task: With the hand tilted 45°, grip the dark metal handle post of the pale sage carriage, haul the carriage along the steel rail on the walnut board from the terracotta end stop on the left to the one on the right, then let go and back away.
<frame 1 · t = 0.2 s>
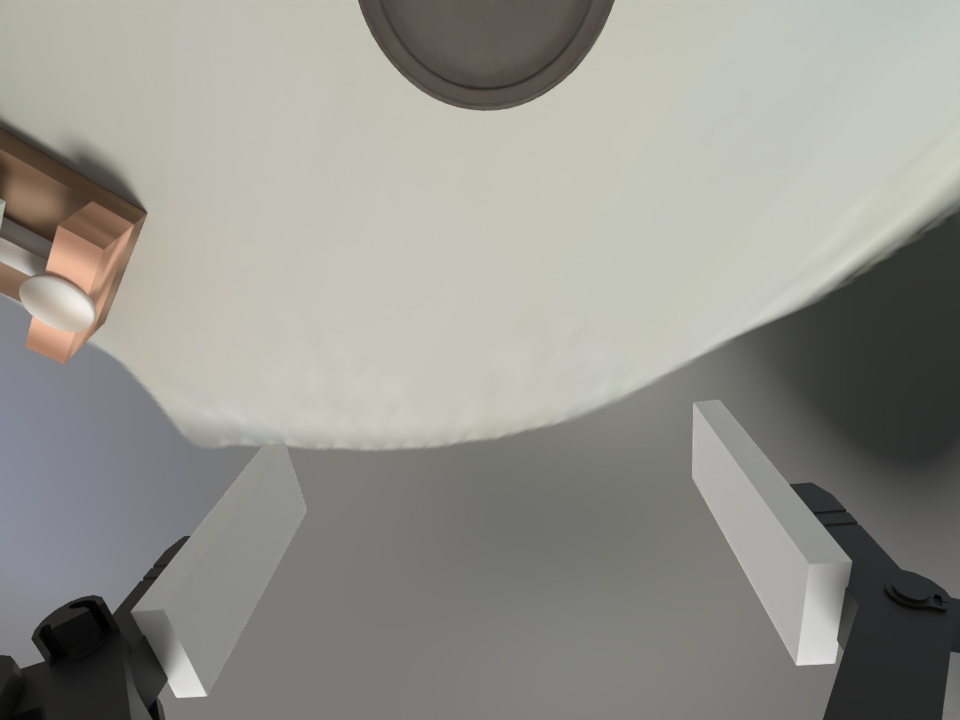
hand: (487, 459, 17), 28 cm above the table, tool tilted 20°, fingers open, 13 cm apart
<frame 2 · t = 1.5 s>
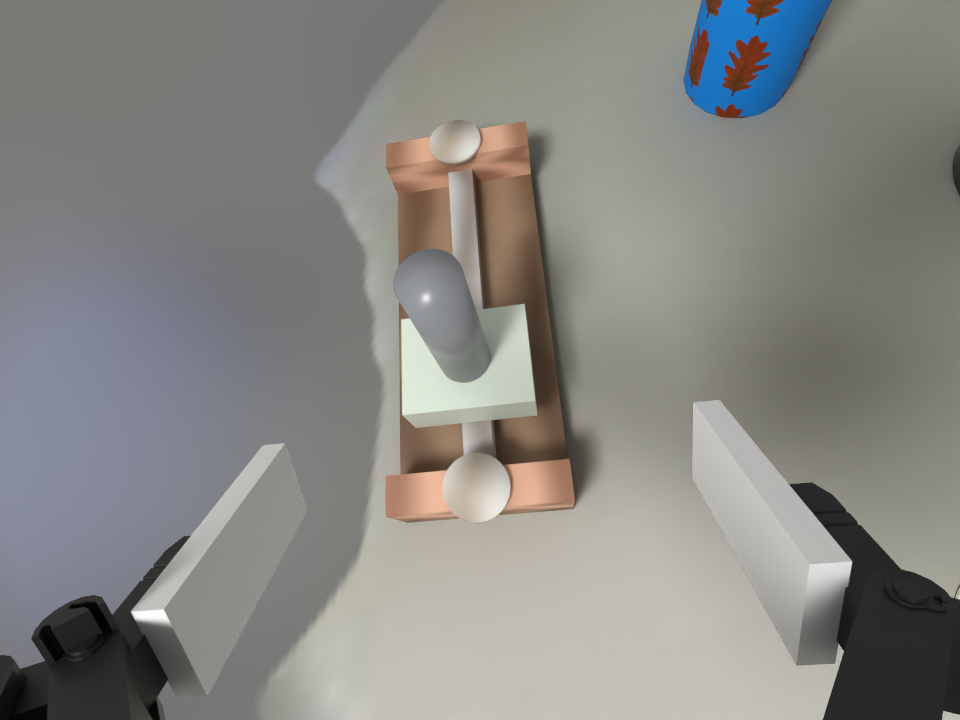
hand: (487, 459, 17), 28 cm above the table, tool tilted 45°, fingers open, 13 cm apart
carriage: (455, 337, 36), point 12 cm above the table, slide at 7.0 cm
thermos: (734, 82, 57), on the table
rail board: (475, 322, 50), on the table
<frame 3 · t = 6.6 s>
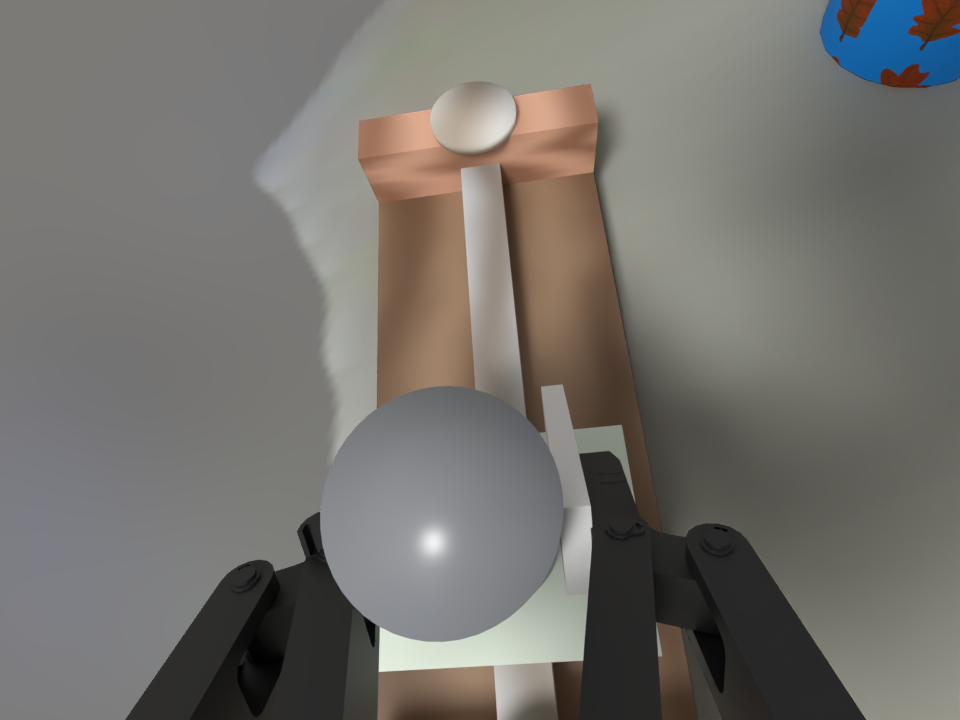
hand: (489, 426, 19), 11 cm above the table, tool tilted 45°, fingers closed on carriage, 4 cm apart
carriage: (492, 534, 16), point 12 cm above the table, slide at 7.0 cm, touching gripper
thermos: (900, 35, 37), on the table
rail board: (506, 420, 30), on the table
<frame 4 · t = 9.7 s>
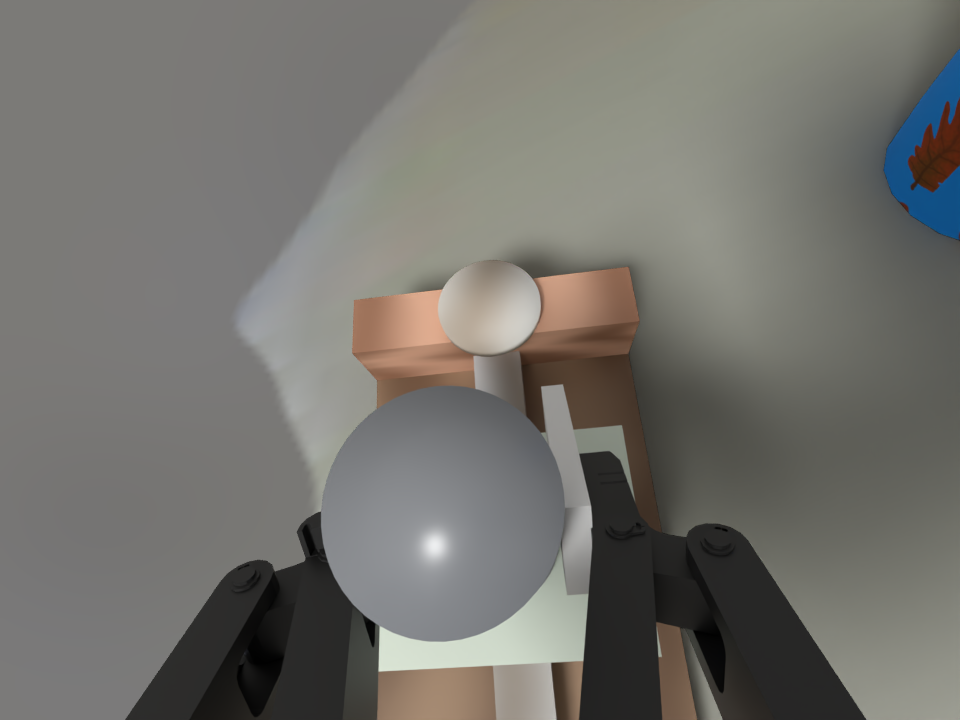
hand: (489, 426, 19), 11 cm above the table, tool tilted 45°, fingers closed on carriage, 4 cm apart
carriage: (492, 534, 16), point 12 cm above the table, slide at -5.5 cm, touching gripper
rail board: (528, 672, 25), on the table
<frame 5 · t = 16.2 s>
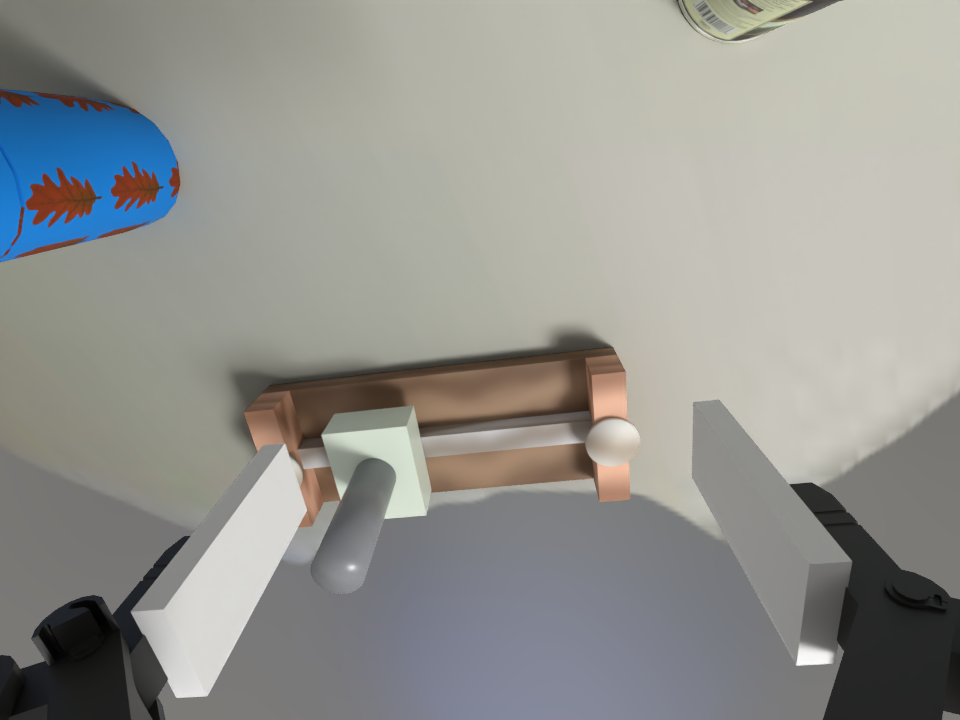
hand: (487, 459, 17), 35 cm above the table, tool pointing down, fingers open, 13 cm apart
carriage: (364, 503, 46), point 12 cm above the table, slide at -6.0 cm
thermos: (124, 166, 48), on the table
rail board: (446, 425, 56), on the table
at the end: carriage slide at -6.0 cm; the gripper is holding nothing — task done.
